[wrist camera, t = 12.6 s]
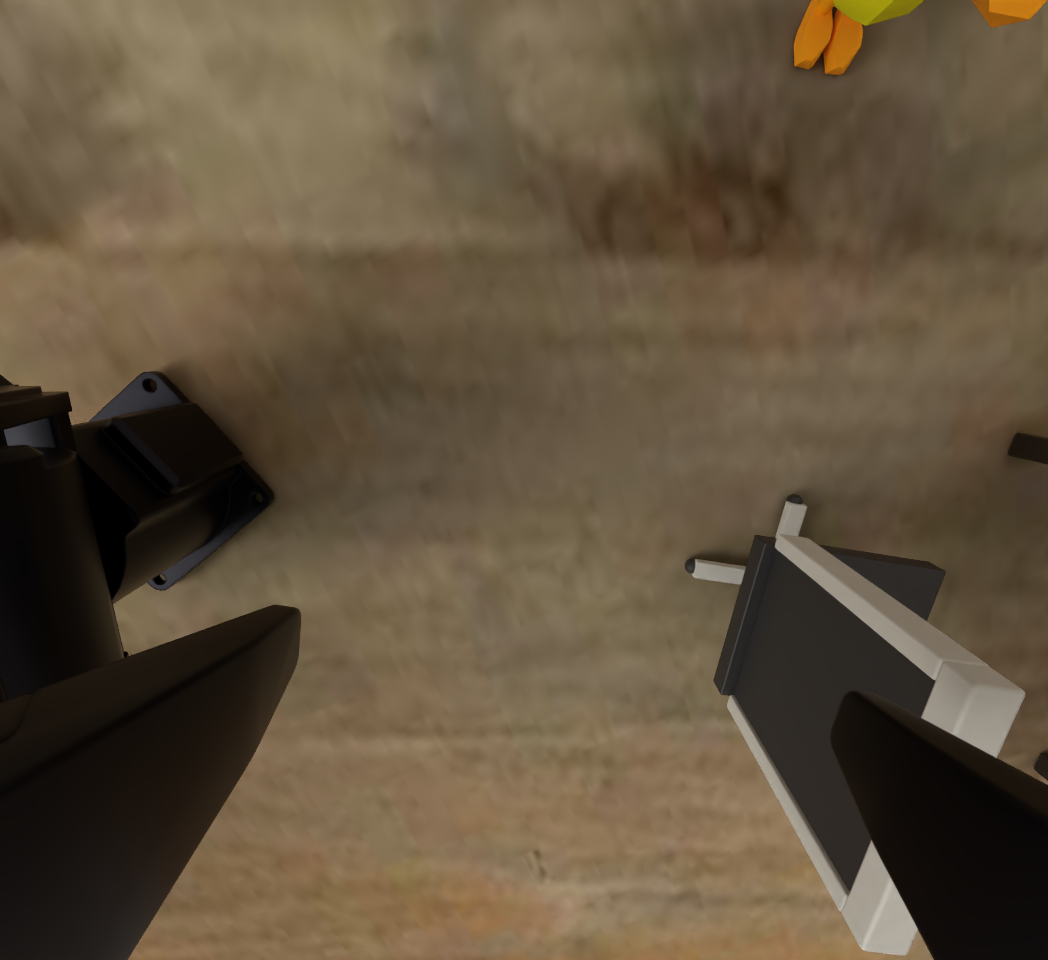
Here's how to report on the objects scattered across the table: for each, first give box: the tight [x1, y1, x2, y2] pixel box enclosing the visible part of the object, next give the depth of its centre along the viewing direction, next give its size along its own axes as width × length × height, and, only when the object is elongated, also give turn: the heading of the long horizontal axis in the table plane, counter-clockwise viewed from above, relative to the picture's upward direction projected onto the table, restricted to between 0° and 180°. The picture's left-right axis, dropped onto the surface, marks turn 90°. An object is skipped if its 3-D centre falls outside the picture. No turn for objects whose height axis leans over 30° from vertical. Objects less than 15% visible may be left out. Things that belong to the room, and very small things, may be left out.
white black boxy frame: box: [685, 494, 1025, 956], centre depth 16 cm, size 7×7×12 cm
